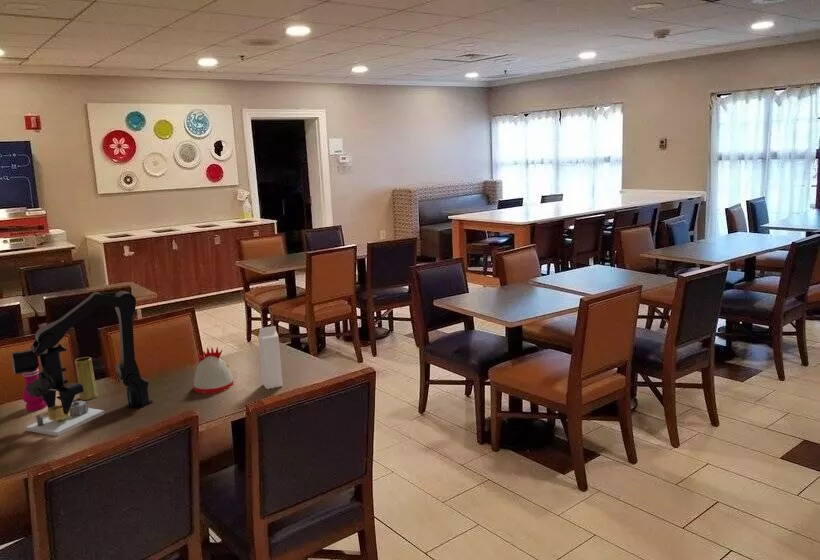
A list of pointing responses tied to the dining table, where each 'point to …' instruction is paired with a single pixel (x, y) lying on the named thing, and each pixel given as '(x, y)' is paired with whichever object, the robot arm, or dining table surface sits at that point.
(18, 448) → the dining table surface
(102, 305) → the robot arm
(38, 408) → the pepper mill
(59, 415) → the gear
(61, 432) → the gear board
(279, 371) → the milk
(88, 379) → the vase
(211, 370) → the kitchen timer
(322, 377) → the dining table surface
